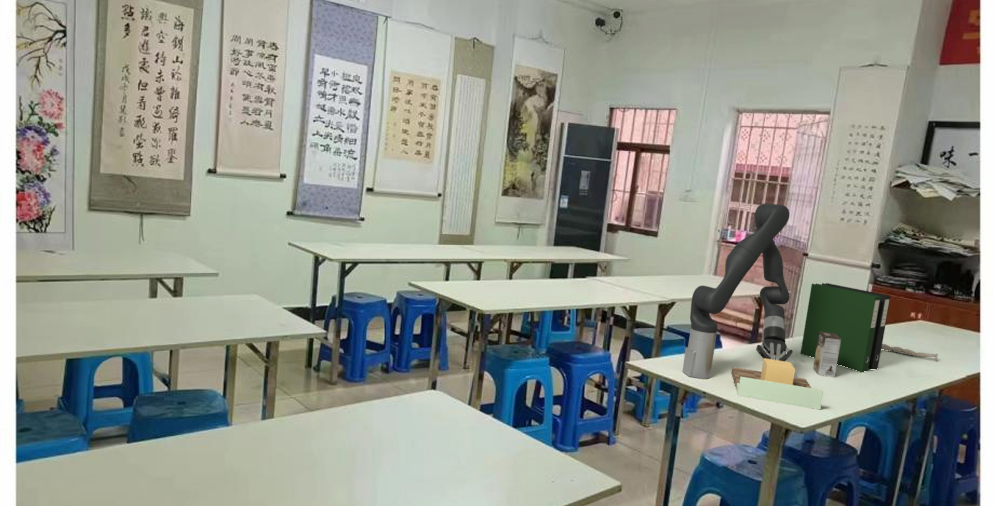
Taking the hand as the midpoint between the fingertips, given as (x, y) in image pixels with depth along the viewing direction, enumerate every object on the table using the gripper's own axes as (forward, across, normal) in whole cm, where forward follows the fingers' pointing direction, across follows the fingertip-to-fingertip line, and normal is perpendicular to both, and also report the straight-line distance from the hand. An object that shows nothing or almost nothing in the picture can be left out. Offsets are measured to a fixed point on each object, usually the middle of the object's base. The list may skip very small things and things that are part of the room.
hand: (774, 371), depth 238 cm
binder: (-38, +36, +48) cm, 71 cm away
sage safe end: (+14, 0, -5) cm, 14 cm away
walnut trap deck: (+6, 0, +2) cm, 7 cm away
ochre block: (+6, 0, -1) cm, 6 cm away
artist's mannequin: (-64, +71, +75) cm, 122 cm away
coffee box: (-20, +24, +29) cm, 43 cm away
